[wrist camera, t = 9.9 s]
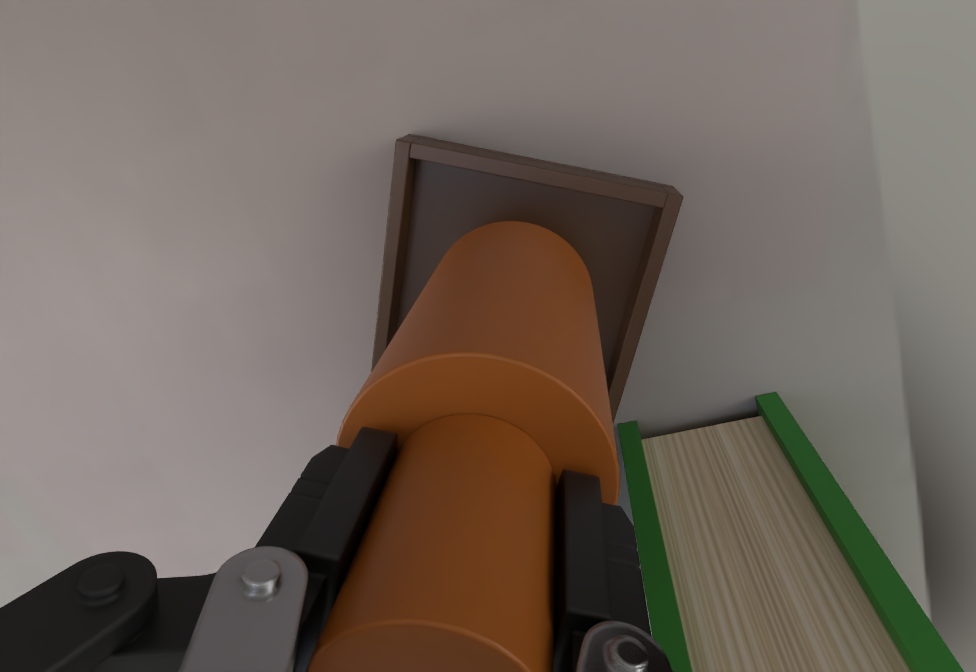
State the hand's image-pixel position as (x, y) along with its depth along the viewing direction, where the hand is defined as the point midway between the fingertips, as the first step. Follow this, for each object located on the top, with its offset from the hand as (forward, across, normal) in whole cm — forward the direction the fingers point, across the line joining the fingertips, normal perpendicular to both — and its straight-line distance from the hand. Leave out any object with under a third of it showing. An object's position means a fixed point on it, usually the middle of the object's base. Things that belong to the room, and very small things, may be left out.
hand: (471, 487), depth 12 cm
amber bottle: (+11, 0, 0) cm, 11 cm away
